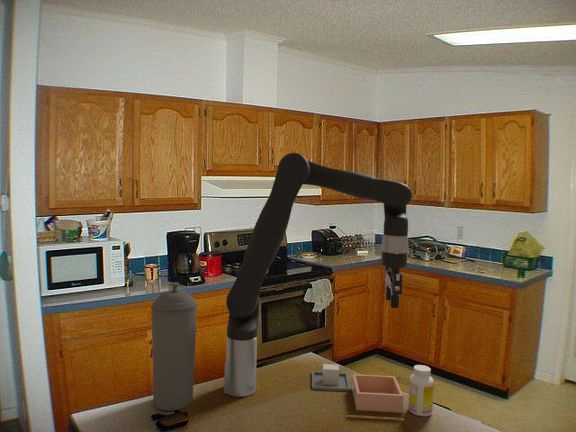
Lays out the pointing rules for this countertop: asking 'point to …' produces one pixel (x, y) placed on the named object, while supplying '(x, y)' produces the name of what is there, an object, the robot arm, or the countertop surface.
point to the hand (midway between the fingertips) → (391, 303)
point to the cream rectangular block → (330, 374)
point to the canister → (173, 349)
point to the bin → (377, 393)
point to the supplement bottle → (421, 391)
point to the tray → (318, 385)
